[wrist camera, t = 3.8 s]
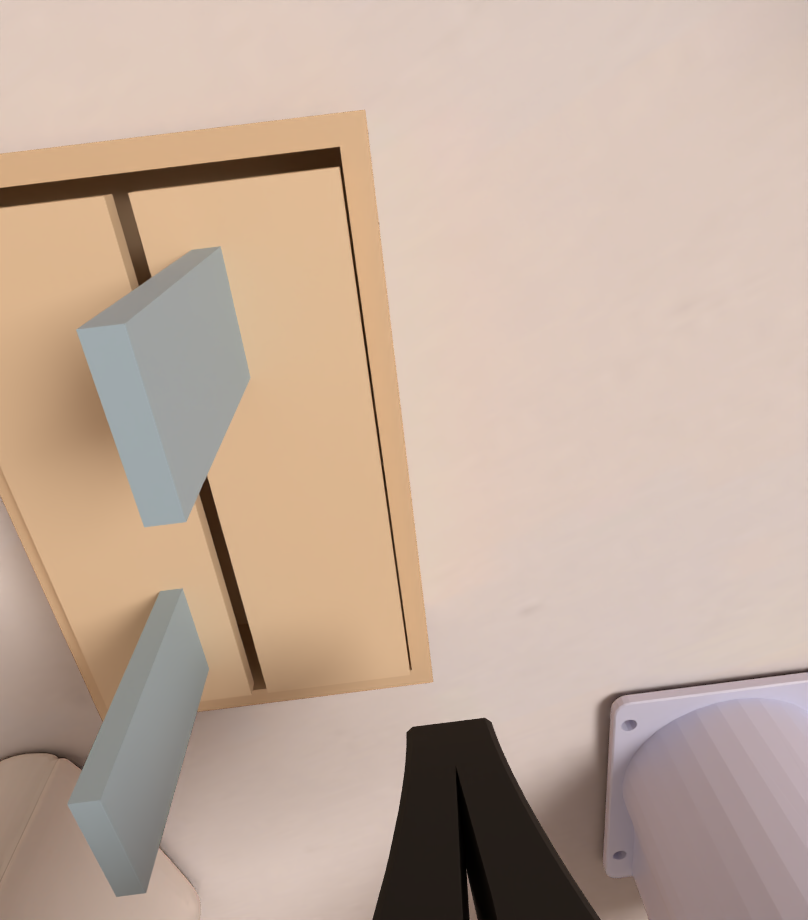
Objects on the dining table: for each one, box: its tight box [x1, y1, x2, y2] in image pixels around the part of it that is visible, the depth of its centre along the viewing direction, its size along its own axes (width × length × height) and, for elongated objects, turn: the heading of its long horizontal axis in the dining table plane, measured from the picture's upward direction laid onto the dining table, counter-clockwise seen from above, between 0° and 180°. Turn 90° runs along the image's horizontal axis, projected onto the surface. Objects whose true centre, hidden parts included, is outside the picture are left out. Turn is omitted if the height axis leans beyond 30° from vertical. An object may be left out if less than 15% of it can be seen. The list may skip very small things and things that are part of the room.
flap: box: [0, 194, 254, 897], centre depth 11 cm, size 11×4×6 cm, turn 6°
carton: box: [0, 110, 433, 721], centre depth 15 cm, size 13×8×3 cm, turn 6°
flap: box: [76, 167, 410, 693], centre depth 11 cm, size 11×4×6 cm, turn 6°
